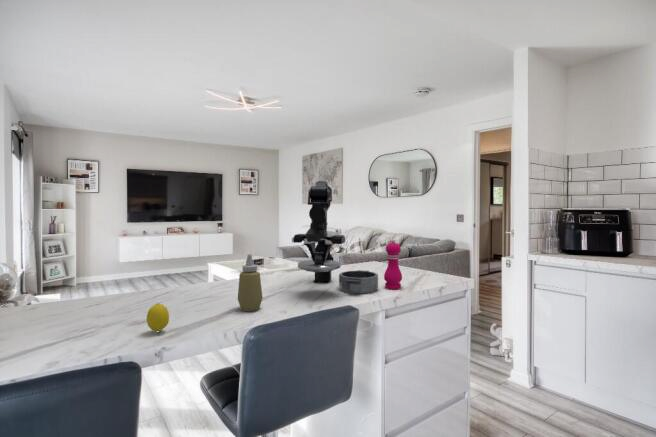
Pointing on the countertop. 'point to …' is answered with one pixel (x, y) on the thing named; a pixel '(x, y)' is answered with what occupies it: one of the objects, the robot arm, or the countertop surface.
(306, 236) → the robot arm
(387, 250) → the pepper mill
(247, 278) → the squeeze bottle
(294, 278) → the countertop surface
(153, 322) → the lemon
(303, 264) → the lid
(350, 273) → the pot
